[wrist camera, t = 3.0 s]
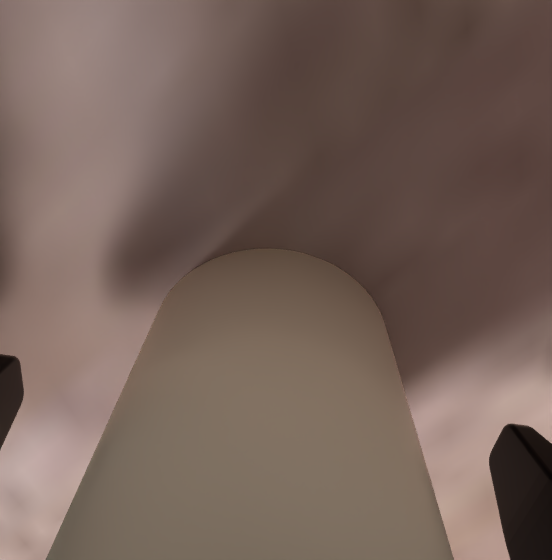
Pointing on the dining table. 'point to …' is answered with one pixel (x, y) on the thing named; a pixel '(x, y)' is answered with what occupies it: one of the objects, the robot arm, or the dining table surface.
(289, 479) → the bushing
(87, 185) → the dining table surface
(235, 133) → the dining table surface
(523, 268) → the dining table surface
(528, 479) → the robot arm
